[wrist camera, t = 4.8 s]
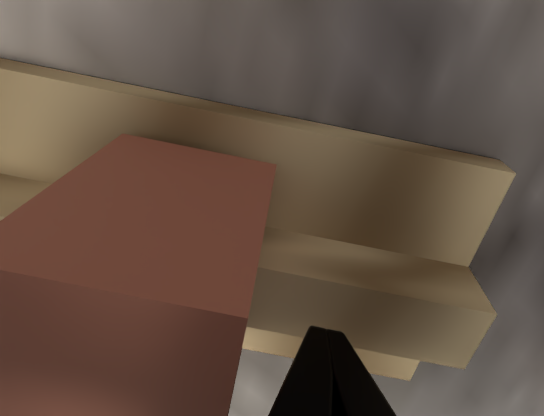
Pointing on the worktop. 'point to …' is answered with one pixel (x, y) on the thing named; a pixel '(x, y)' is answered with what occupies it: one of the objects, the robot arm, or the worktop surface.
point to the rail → (296, 212)
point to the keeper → (131, 283)
